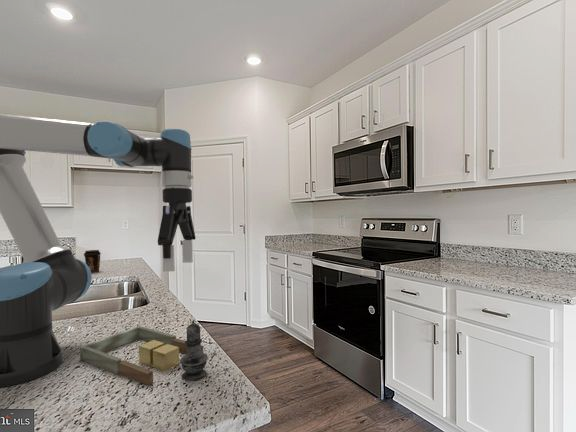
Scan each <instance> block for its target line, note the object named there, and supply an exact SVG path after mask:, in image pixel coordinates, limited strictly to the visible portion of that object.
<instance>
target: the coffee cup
mask: <svg viewBox="0 0 576 432" xmlns="http://www.w3.org/2000/svg"><path fill="white" fill-rule="evenodd" d="M101 253H102V252H101V251H100V250H99V249H92V250H91V249H90V250H85V251H84V253H83V256H84V260H85V261H84V262H85V263H86V264H87V265H88V267H89V268H90V271H91V275H92V274H97V273H99V272H100V266H101V265H100V262H101Z"/></svg>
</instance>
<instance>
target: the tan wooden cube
mask: <svg viewBox="0 0 576 432" xmlns="http://www.w3.org/2000/svg"><path fill="white" fill-rule="evenodd" d="M179 365H180V352H179V347H176V346H173V345H169V344H166V345H164V346H161V347H159V348H157V349H154V350H153V365H152V368H154V369H156V370H159V371H162V372H167V371H169V370H170V368H171V369H173V368H174V366H175V367H176V366H179ZM172 367H173V368H172Z"/></svg>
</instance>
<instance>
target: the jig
mask: <svg viewBox="0 0 576 432" xmlns="http://www.w3.org/2000/svg"><path fill="white" fill-rule="evenodd" d="M136 340H143V341H147V342H150V341H152V340H156V341H159V342H162V343H165V345H166V344H169V345H173V346H176V347H179V353H182V354H185V355H186V352H187V344H185V341H186V340H183V339H180V338H177V335H174V334H170V333H167V332H164V331H160V330H156V329H153V328H148V327H145V326H141V325H139V326H136V327H134V328H131V329H127V330H125V331H122V332H119V333H116V334H113V335H110V336H107V337H105V338H101V339H98V340H96V341H93V342H90V343H87V344H84V345H82V346H79V356H80V360H81V361H84V362H86V363H88V364H91V365H93V366H96V367H99V368H101V369H103V370H106V371H108V372H110V373H113V374H115V375H121V376H124V377H126V378H128V379H130V380H133V381H134V382H137V381H138V383H140V384H143V385H145V386H147V385H149V386H150V384H151V385H153V384H154V371H153V370H151V369H148V368H145V367H143V366H140V365H138V364H135V363H132V362H129V361H126V360H122V358H120V357H118V356H117V357H116V356H115V355H111V354H109V353H107V351H110V350H112V349H115V348H118V347H121V346H123V345H125V344H128V343H130V342H134V341H136ZM105 352H106V353H105ZM201 352H202V353H204V345H202V344H201ZM152 383H153V384H152Z"/></svg>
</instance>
